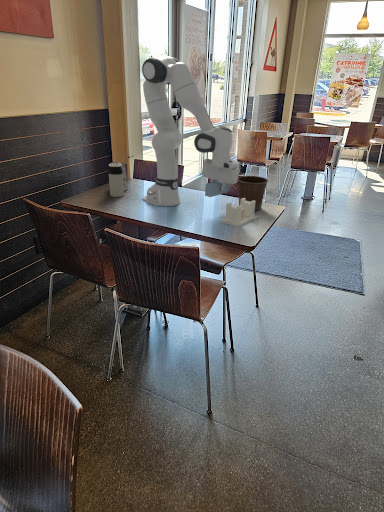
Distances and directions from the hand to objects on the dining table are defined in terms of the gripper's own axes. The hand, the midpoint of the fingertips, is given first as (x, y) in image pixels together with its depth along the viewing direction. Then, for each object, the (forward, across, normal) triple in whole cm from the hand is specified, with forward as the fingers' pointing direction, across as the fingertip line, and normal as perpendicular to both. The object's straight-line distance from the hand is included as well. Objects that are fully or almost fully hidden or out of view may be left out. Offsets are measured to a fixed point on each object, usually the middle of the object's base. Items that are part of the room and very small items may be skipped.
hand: (217, 189), depth 176 cm
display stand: (+12, +15, 0) cm, 20 cm away
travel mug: (+16, -60, -17) cm, 64 cm away
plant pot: (+12, +8, +20) cm, 25 cm away
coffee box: (+16, -70, -7) cm, 72 cm away
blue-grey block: (+2, 0, 0) cm, 2 cm away
